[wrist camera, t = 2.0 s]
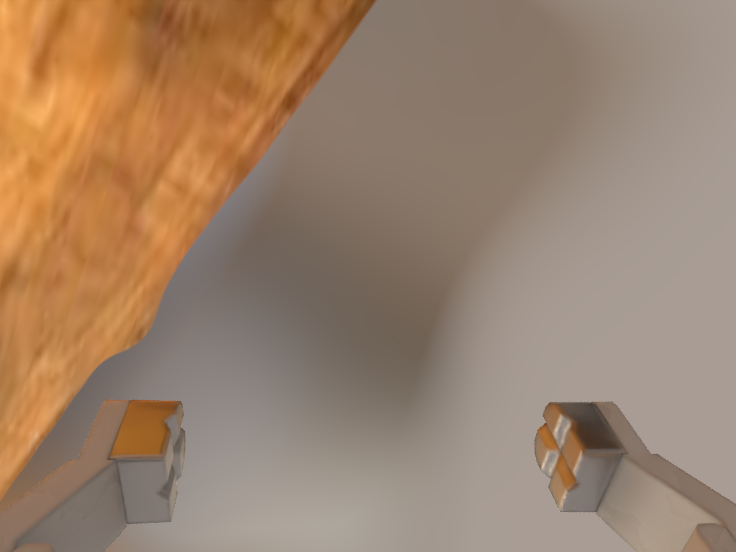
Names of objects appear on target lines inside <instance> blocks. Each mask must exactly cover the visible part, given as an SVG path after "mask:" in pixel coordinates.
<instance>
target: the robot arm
mask: <svg viewBox="0 0 736 552" xmlns="http://www.w3.org/2000/svg"><path fill="white" fill-rule="evenodd" d="M543 417H544V419H545V421H546V423H545V424H544V425H543V426H542V427H540V428H539V429H538V430H537V434H536V437H535V456H536V460H537V463H538V465H539V467H540V470H541V471H542V472H543V473H544V474H546V475H547V476H548V477H549V478H551V481H550V484H549V489H550V491H551V493H552V495H553V498H554V500H555V502H556V504H557V506H558V508H559V511H560V512H597V513H596V514H597V515H598V516H599V517H600V518H601V519H602V520H603V521H604V522H605V523H606V524H607V525H609V527H610V528H612V529H613V530H614V531H615V532H616V533H617V534H618V535H619V536H620V537H621V538H622V539H623V540H624V541H625V542H627V543H628V544H629V545H630V546H631V547H632V548H633V549H634V550H635V551H636V552H736V504H735V503H733V502H732V501H730V500H729V499H727V498H726V497H724V496H722V495H721V494H719V493H718V492H716V491H714V490H713V489H711V488H710V487H708V486H707V485H705V484H704V483H702V482H700V481H699V480H697V479H696V478H694V477H692V476H691V475H689V474H688V473H686V472H685V471H683V470H682V469H680V468H678V467H677V466H675V465H674V464H672V463H671V462H669V461H667V460H666V459H664V458H663V457H661V456H660V455H658V454H651V453H650V452H649V450H648V449H647V448H646V446H645V445H644V443H643V442H642V440H641V439H640V437H639V436H638V435H637V433H636V432H635V430H634V429H633V428H632V426H631V425H630V423H629V422H628V420H627V419H626V418H625V416H624V415H623V414H622V412H621V411H620V409H619V408H618V406H617V405H616V404H614V403H613V402H590V403H589V402H550V403H549V404H548V405H547V406H546V407H545V410H544V413H543ZM182 420H183V407H182V402H181V401H155V400H154V401H153V400H152V401H151V400H132V401H130V400H106V401H105V402H104V403H103V404H102V405H101V408H100V410H99V412H98V415H97V417H96V419H95V422H94V424H93V426H92V429H91V431H90V433H89V436H88V438H87V440H86V442H85V445H84V447H83V449H82V452H81V454H80V456H79V459H78V460H70V461H68V462H67V463H65V464H64V465H63V466H61V467H60V468H59V469H58V470H56V471H55V472H53V473H52V474H51V475H49V476H48V477H47V478H45V479H44V480H43V481H41V482H40V483H39V484H37V485H36V486H34V487H33V488H32V489H30V490H29V491H28V492H27V493H25V494H24V495H22V496H21V497H20V498H18V499H17V500H16V501H14V502H13V503H12V504H10V505H9V506H8V507H6V508H5V509H4V510H2V511H1V512H0V552H104V551H105V550H106V549H107V548H108V547H109V546H110V545H111V544H112V542H113V541H114V540H115V539H116V538H117V537H118V536H119V535H120V534H121V532H122V531H123V530H124V529H125V528H126V527H127V526H126V524H138V523H158V522H171V519H172V515H173V511H174V506H175V502H176V497H177V485H176V480H177V479H179V478H180V477H181V475H182V470H183V464H184V457H185V431H184V430H183V429H182V428H181V424H182Z"/></svg>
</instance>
